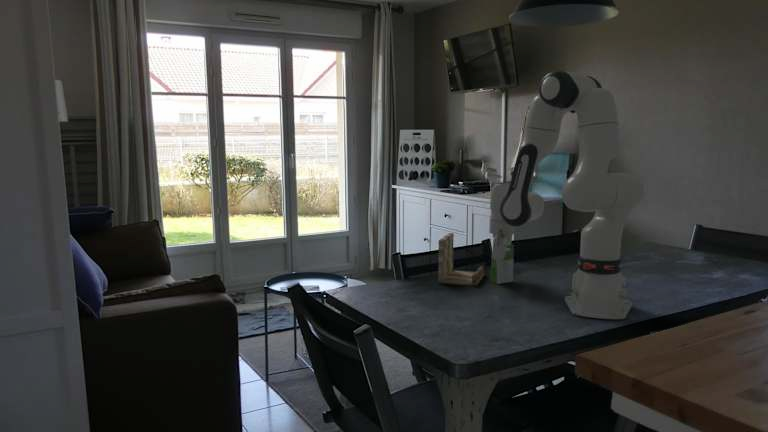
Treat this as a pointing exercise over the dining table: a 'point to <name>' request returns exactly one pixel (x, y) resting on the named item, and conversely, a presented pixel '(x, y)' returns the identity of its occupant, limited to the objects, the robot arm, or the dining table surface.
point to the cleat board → (446, 266)
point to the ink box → (503, 268)
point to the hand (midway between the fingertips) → (501, 267)
